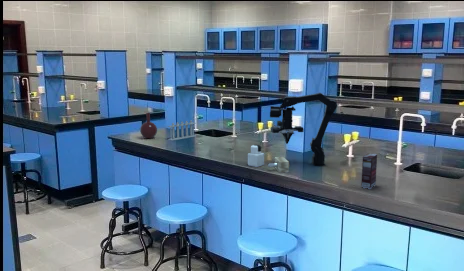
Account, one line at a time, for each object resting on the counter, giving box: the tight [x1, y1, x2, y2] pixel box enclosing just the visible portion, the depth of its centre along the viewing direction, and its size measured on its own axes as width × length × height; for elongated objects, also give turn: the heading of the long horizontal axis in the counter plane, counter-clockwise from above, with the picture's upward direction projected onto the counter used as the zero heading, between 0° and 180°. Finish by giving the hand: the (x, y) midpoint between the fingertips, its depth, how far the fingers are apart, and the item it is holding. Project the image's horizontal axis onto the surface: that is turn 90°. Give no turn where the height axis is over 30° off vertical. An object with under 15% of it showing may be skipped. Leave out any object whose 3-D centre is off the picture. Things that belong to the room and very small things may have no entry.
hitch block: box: [274, 156, 290, 174], centre depth 236 cm, size 5×12×6 cm, turn 9°
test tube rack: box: [167, 119, 197, 142], centre depth 329 cm, size 25×4×13 cm, turn 135°
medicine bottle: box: [247, 144, 265, 168], centre depth 246 cm, size 7×7×12 cm
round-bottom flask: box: [139, 112, 158, 139], centre depth 328 cm, size 13×13×20 cm
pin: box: [267, 160, 290, 168], centre depth 235 cm, size 12×4×4 cm, turn 99°
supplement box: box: [360, 152, 378, 190], centre depth 204 cm, size 9×5×16 cm, turn 144°
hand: (286, 143), depth 249 cm, fingers closed
